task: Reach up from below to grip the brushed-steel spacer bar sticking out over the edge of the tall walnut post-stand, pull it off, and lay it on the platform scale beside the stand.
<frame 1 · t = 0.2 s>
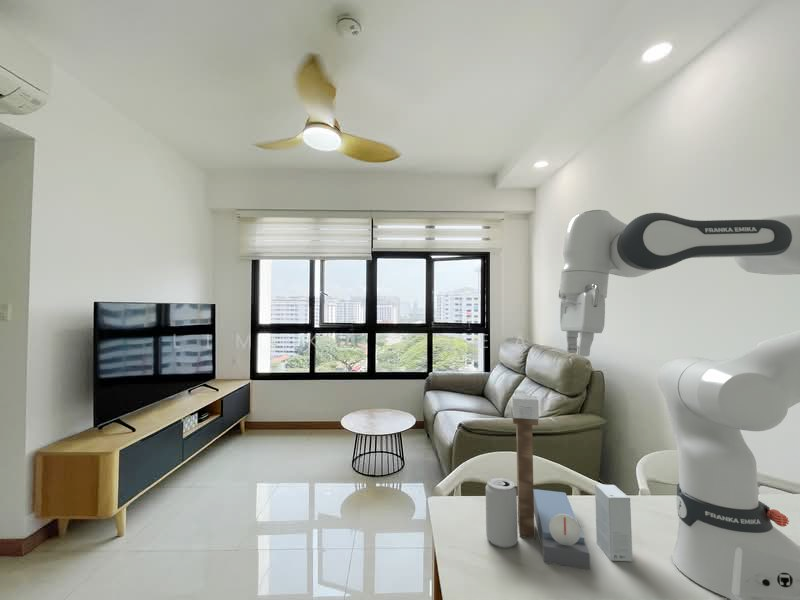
hand: (577, 354, 74), 40 cm above the table, tool pointing down, fingers open, 8 cm apart
platform scale: (556, 532, 78), on the table
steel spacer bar: (522, 408, 84), point 26 cm above the table, touching walnut post stand
skincare box: (613, 552, 72), on the table
beverage can: (501, 541, 76), on the table
walnut post stand: (526, 532, 79), on the table
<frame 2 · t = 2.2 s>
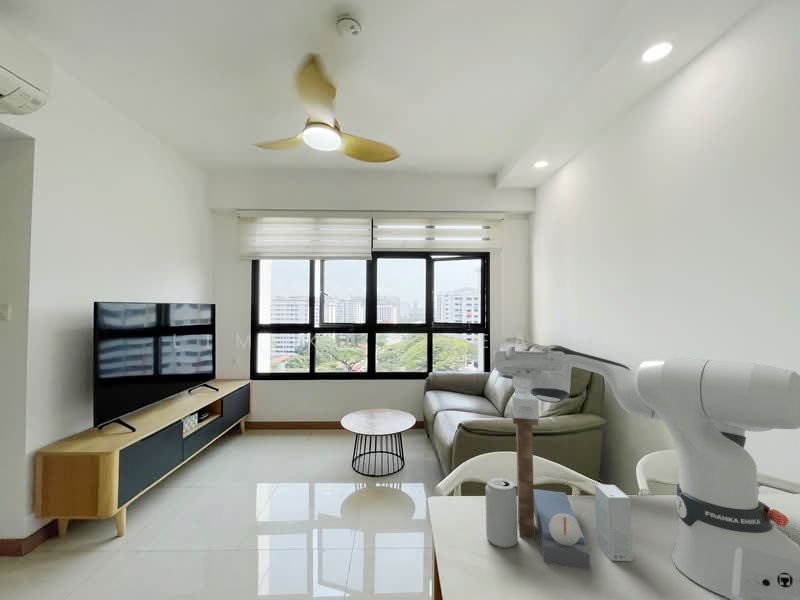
hand: (530, 349, 101), 38 cm above the table, tool pointing upward, fingers open, 8 cm apart
nothing on the table moved.
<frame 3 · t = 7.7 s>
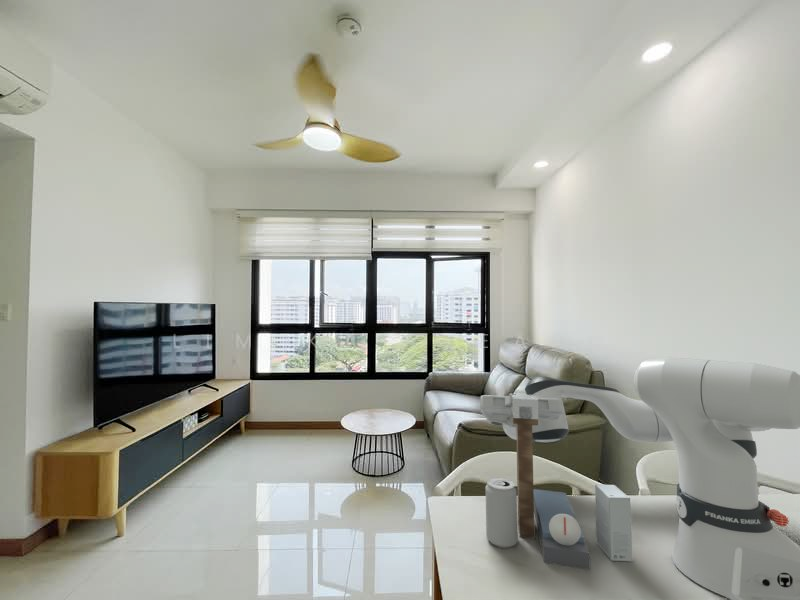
hand: (521, 397, 88), 28 cm above the table, tool pointing upward, fingers closed on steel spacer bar, 2 cm apart
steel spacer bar: (522, 408, 84), point 26 cm above the table, touching gripper, walnut post stand
everything else where it was.
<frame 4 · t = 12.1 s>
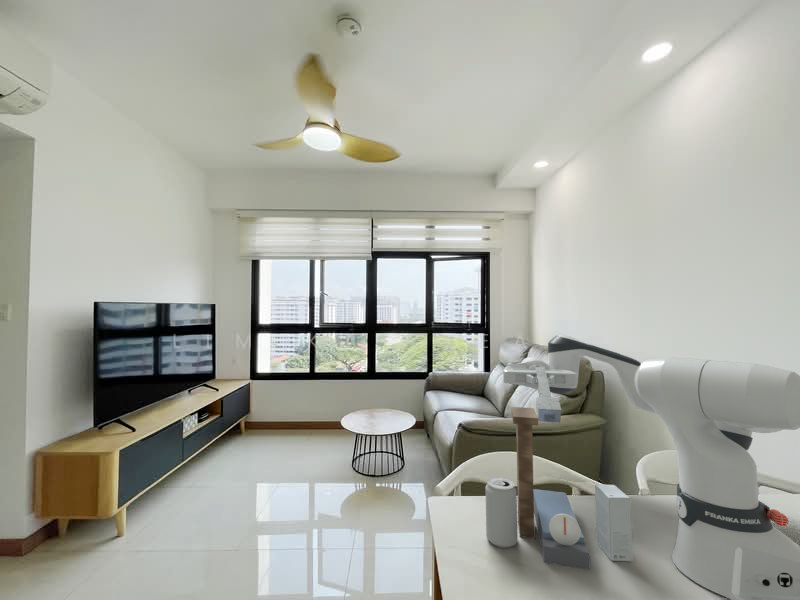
hand: (542, 381, 97), 30 cm above the table, tool horizontal, fingers closed on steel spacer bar, 2 cm apart
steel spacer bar: (543, 395, 95), point 27 cm above the table, tilted 30°, touching gripper
everything else where it was.
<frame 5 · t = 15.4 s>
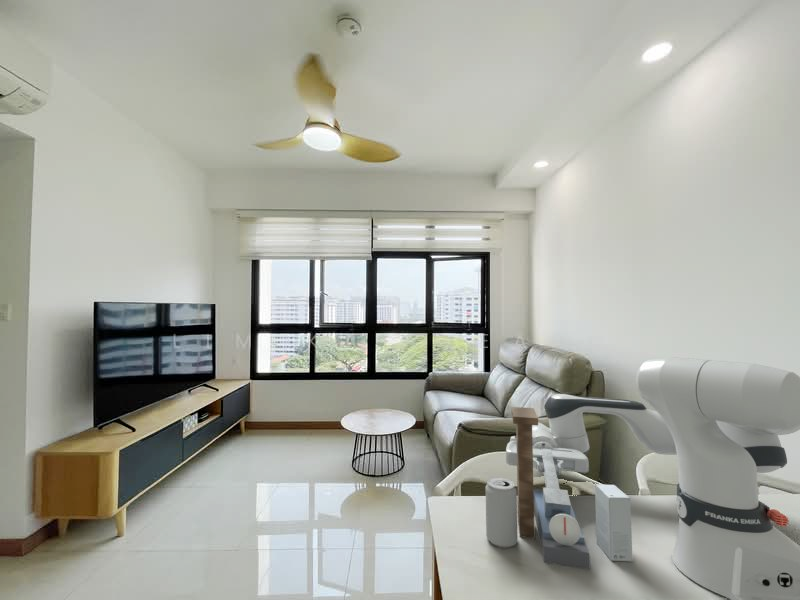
hand: (549, 469, 88), 10 cm above the table, tool horizontal, fingers closed on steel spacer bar, 2 cm apart
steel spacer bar: (550, 484, 85), point 7 cm above the table, tilted 21°, touching gripper
everything else where it was.
when the fingers open (7 cm above the table, at t = 16.3 s): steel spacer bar drops 1 cm, resting on platform scale.
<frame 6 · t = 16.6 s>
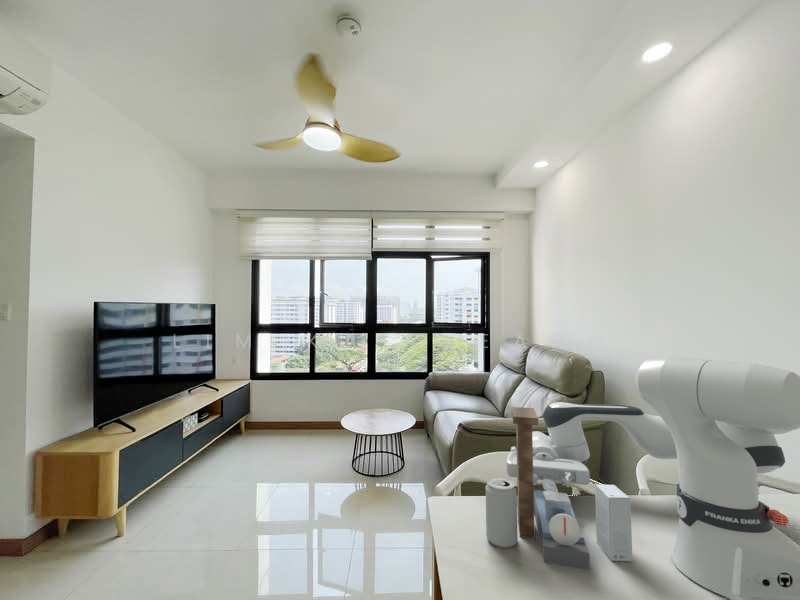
hand: (550, 482, 87), 7 cm above the table, tool horizontal, fingers open, 6 cm apart
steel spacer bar: (551, 499, 85), point 4 cm above the table, touching platform scale
everything else where it was.
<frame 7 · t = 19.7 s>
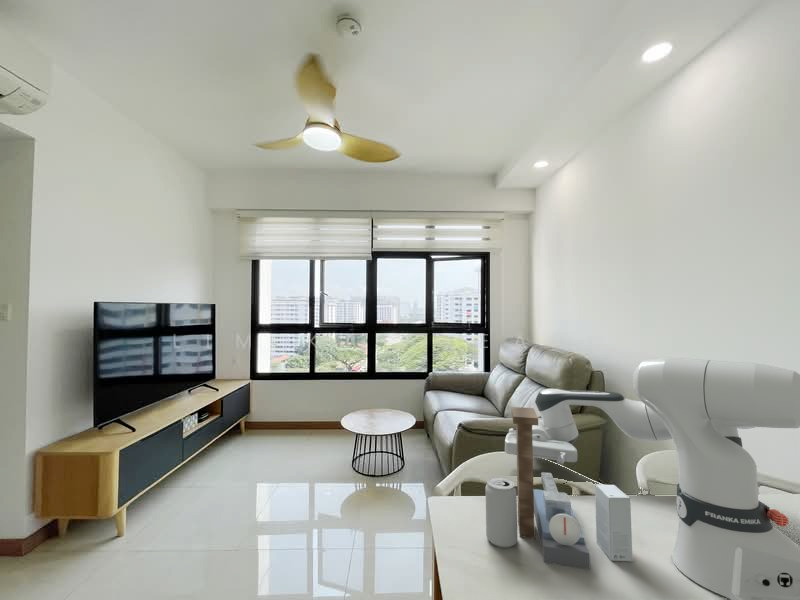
hand: (542, 459, 100), 8 cm above the table, tool horizontal, fingers open, 8 cm apart
nothing on the table moved.
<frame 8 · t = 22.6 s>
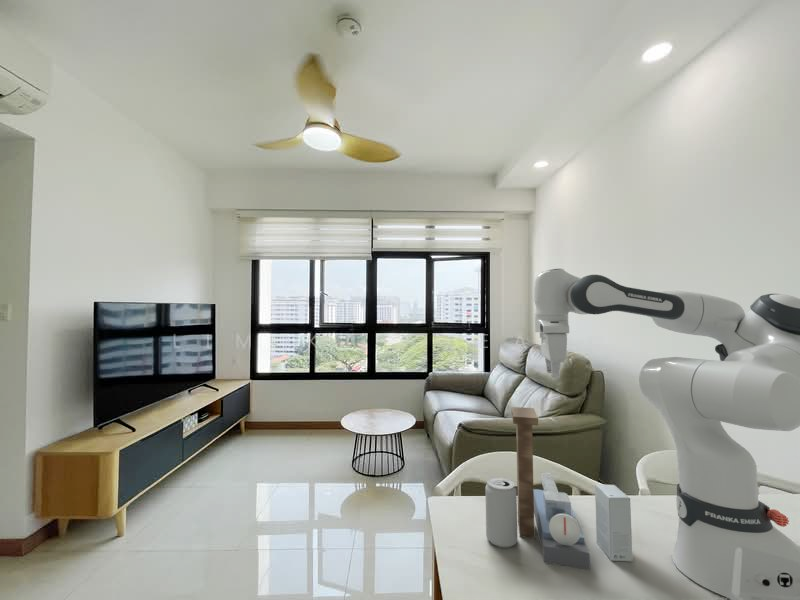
hand: (552, 375, 101), 31 cm above the table, tool pointing down, fingers open, 8 cm apart
nothing on the table moved.
at the end: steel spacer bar inside the target area on the platform scale (2.6 cm from its centre), point 4.0 cm above the platform scale's base; the gripper is holding nothing; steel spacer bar tilted 0° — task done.
